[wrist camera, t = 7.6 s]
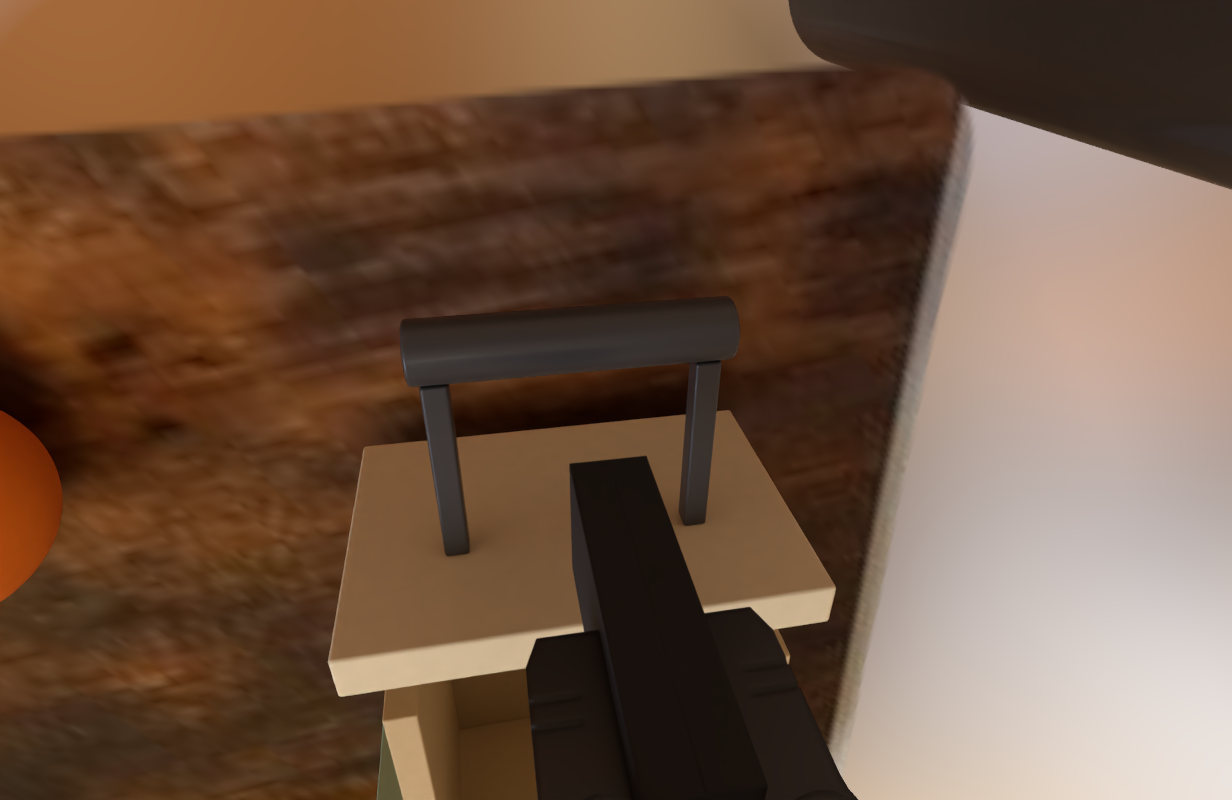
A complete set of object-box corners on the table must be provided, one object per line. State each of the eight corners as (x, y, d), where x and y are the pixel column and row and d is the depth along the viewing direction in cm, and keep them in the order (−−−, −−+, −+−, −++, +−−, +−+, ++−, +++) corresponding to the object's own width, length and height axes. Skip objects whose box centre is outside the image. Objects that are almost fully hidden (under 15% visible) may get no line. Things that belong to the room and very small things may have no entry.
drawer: (319, 244, 18) (248, 413, 12) (751, 221, 20) (895, 354, 14) (423, 722, 29) (415, 949, 22) (699, 676, 31) (767, 873, 24)
